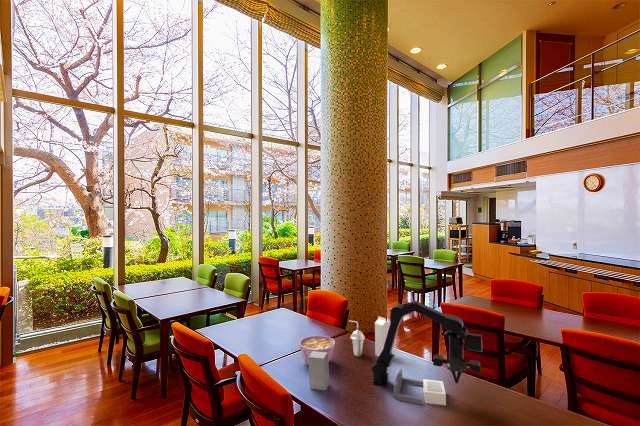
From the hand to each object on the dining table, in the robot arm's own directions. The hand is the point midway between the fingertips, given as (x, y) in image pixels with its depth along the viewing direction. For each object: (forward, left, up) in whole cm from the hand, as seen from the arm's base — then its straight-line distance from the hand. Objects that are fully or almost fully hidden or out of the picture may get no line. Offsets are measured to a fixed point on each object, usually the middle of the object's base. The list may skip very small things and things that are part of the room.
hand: (456, 383), depth 140 cm
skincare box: (-60, -12, -8) cm, 62 cm away
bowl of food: (-71, +10, -8) cm, 73 cm away
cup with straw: (-54, +29, -8) cm, 62 cm away
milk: (-40, +33, -8) cm, 53 cm away
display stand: (-19, 0, -8) cm, 21 cm away
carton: (-9, 0, -8) cm, 13 cm away
